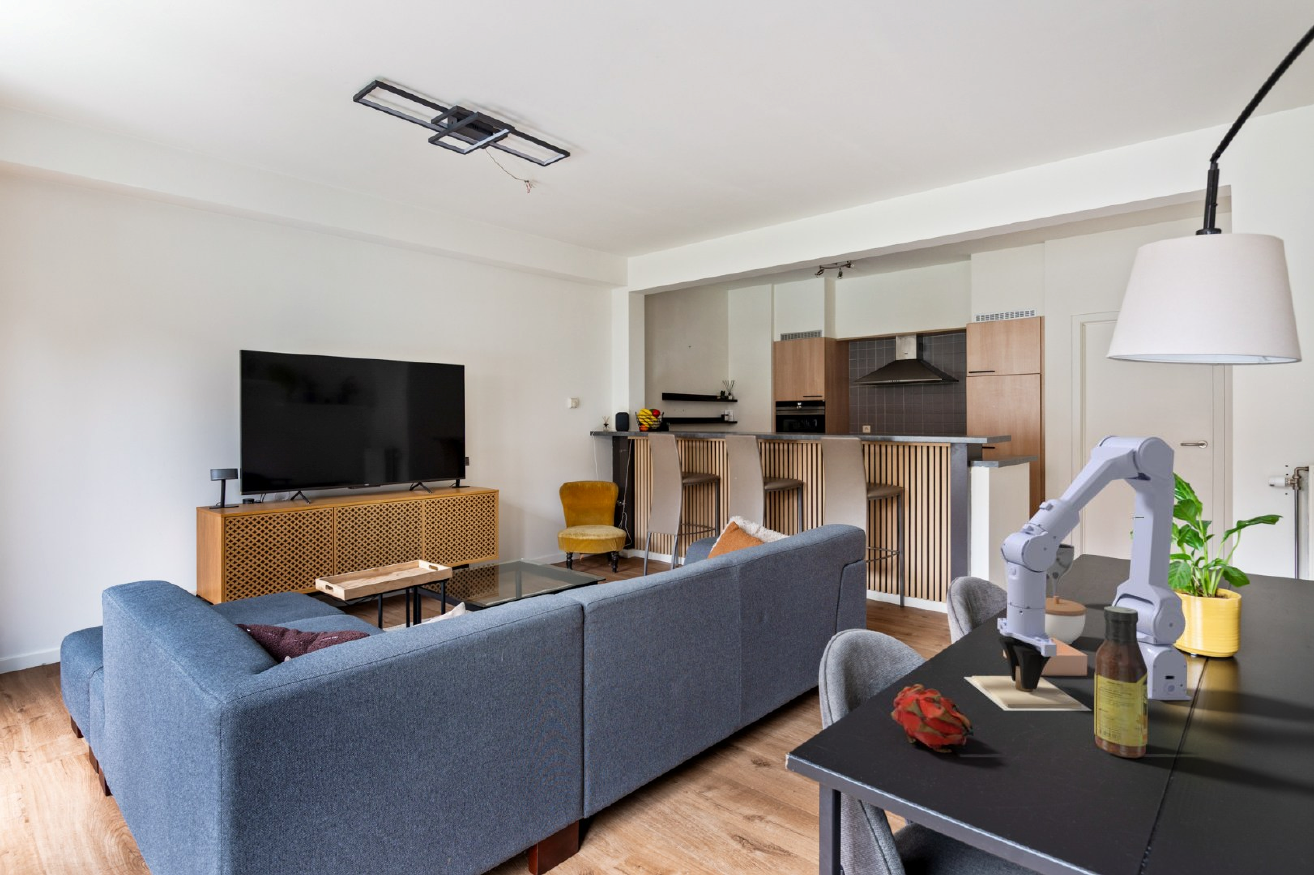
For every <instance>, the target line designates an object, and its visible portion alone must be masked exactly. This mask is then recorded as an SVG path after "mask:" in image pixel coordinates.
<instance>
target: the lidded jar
mask: <svg viewBox="0 0 1314 875" xmlns="http://www.w3.org/2000/svg"><path fill="white" fill-rule="evenodd" d="M1086 614H1087V607H1086V606H1085V605H1083V604H1081V603H1079V602H1076V601H1072V600H1067V599H1062V598H1060V596H1059V595H1057V596H1054V598H1053V597H1046V611H1045V632H1046V634H1047V635H1048V636H1049V638H1056V639H1057V640H1059V641H1061V642H1063V643H1065V644H1067V645H1069V646H1070V645H1072V644H1073V642H1074V641H1076V640H1077V639H1078V638H1080V636H1081V635H1082V633H1083V631H1084V628H1085V625H1086V624H1085V622H1086Z"/></svg>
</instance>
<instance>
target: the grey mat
mask: <svg viewBox="0 0 1314 875" xmlns="http://www.w3.org/2000/svg"><path fill="white" fill-rule="evenodd" d="M963 679H965V680H966V681H967V682H969V683H970V684H971V685H972V686H973V687H975V688H976V689H978V690H979V692H981V693H982V694H984V695H985V696H986V697H987V698H988V699H989V700H991V701H992V702H993V703H995V705H997V706H998V707H999V708H1001V709H1002V710H1003V711H1006V712H1007V711H1009V712H1010V711H1012V712H1013V711H1015V712H1018V711H1021V712H1022V711H1023V712H1024V711H1025V712H1027V711H1028V712H1029V711H1030V712H1033V711H1034V712H1036V711H1037V712H1038V711H1039V712H1040V711H1041V712H1043V711H1044V712H1045V711H1046V712H1051V711H1052V712H1054V711H1055V712H1056V711H1057V712H1059V711H1062V712H1063V711H1064V712H1065V711H1067V712H1068V711H1070V712H1073V711H1075V712H1078V711H1079V712H1082V711H1083V712H1084V711H1085V712H1088V711H1090V712H1091V711H1092V709H1090V708H1089V707H1088V706H1086V705H1084V703H1083V704H1082V703H1081V702H1080V701H1078V700H1077V699H1075V698H1074V697H1072V696H1070V695H1069V696H1070V697H1072V698H1073V699H1075V700H1076V701H1078V702H1079V703H1081V704H1082V708H1007V707H1006V706H1005V705H1004V704H1002V703H1001V702H1000V701H999V700H997V699H996V698H995V697H994V696H992V695H991V694H990V693H989V692H987V691H986V690H985V689H983V688H982V687H981V686H980V685H978V684H977V683H976V682H975V681H973V680H972V676H964V677H963ZM1049 683H1050V684H1052V683H1051V682H1049ZM1052 685H1053V686H1055V685H1054V684H1052ZM1055 687H1056V688H1058V687H1057V686H1055ZM1058 689H1059V688H1058ZM1059 690H1061V689H1059ZM1061 691H1062V690H1061ZM1062 692H1064V691H1062Z"/></svg>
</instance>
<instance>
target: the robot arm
mask: <svg viewBox="0 0 1314 875" xmlns="http://www.w3.org/2000/svg"><path fill="white" fill-rule="evenodd" d="M1174 463H1175V450H1174V449H1173V448H1172V447H1171V446H1170V445H1169V444H1168V443H1167V442H1166V441H1165V440H1164V439H1162V438H1160V437H1157V436H1147V437H1143V436H1142V437H1141V436H1119V435H1107V436H1105V437H1103V438H1102V439H1100V440H1099V442H1098V443H1097V445H1096V446H1095V447H1093V448H1092V449H1091V450H1090V459H1089V461H1088V462H1087V464H1086V465H1085V466H1084V467H1083V468H1082V470H1080V472H1079V473H1078V475H1077V476H1076V477H1075V479H1074V480H1073V482H1072V483H1071V484H1070V485H1069V486H1068V488H1067V489H1066V490H1065V492H1064V493H1063V494H1062V496H1060V498H1055V499H1053V498H1052V499H1048V500H1047V501H1043V502H1042V503H1041V504H1040V505H1039V510H1038V511H1037V512H1036V513H1035V514H1034V515H1033V517H1031V519H1029V521H1027V523H1025V524H1024V525H1023V526H1022V527H1021V530H1020V531H1015V532H1012V533H1010V534H1009V535H1008V536H1007V537H1006V538H1005V540H1004V541H1003V543H1002V544H1003V545H1002V546H1001V547H999V552H1000V554H1001V557H1002V559H1003V560H1004V561H1005V566H1006V567H1005V571H1007V588H1006V589H1007V590H1006V591H1007V592H1006V593H1007V598H1006V603H1007V604H1006V617H998V618H997V627H996V628H997V630H999V633H1000V634H1001V635H1003V636H1000V637H998V642H999V644H1000V645H1001V647H1002V649H1003V650H1004V652H1005V654H1006V657H1007V658H1006V661H1007V664H1008V669H1009V672H1010V676H1011V677H1012V680H1013V681H1014V682H1016V666H1018V665H1019V666H1020V676H1021V684H1022V687H1023V688H1024V689H1036V688H1037V686H1038V683H1039V679H1040V677H1041V676H1042V675H1041V674H1042V671H1043V669H1044V667H1045V665H1046V663H1047V662H1048V660H1049V659H1050V658H1051V657H1056V656H1057V644H1055V643H1053V642H1052V641H1051V639H1050V638H1049V636H1048V635H1047V634H1046V632H1045V611H1046V598H1047V573H1046V570H1047V569H1048V568H1049V567H1050V566H1051V565H1053V564H1054V562H1055V559H1056V552H1057V550H1058V549H1059V544H1060V543H1062V542H1063V541H1064V540H1065V539H1066V538H1067V537H1068V536H1069V535H1070V533H1072V531H1073V530H1074V529H1075V528H1076V527H1077V526H1078V524H1079V523H1080V521H1081V518H1080V516H1081V515H1080V512H1081V510H1082V509H1083V508H1084V507H1085V506H1086V505H1087V504H1088V503H1089V502H1090V501H1092V500H1093V499H1094V498H1095V497H1096V496H1097V495H1098V494H1099V493H1101V491H1102V490H1103V489H1104V488H1105V487H1107V485H1109V484H1110V483H1111V482H1112V481H1115V480H1116V481H1117V480H1124V481H1125V482H1126V483H1127V484H1128V485H1130V487H1131V488H1132V489H1134V491H1135V497H1134V509H1133V510H1134V512H1133V525H1132V526H1133V527H1132V538H1131V539H1132V540H1131V550H1130V551H1131V552H1130V553H1131V554H1130V567H1129V577H1128V578H1129V579H1127V580H1126V581H1124V582H1122V583H1121V584H1119V585H1118V586H1117V588H1116V589H1117V590H1116V594H1115V595H1116V596H1115V598H1114V600H1113V602H1112V603H1111V606H1119V607H1125V608H1130V609H1134V610H1136V611H1137V612H1138V622H1137V642H1138V644H1139V647H1140V650H1141V653H1142V656H1143V658H1144V661H1145V664H1146V667H1147V671H1148V678H1147V681H1148V683H1147V688H1148V689H1147V692H1148V700H1158V701H1192V696H1190V695H1188V694H1187V690H1188V689H1187V688H1188V662H1187V658H1186V657H1185V655H1184V653H1182V652H1180V651H1179V650H1178V649H1177V648H1176V647H1175V645H1174V644H1177V641H1178V640H1179V639H1180V638H1181V637H1182V636H1183V635H1184V632H1185V629H1186V623H1187V622H1186V617H1185V615H1184V611H1183V599H1182V598H1181V597H1180V596H1179V594H1177V592H1175V591H1174V589H1173V588H1172V587H1171V585H1169V576H1170V574H1169V573H1170V564H1171V563H1170V562H1171V560H1170V559H1171V549H1172V548H1171V546H1172V535H1173V534H1172V533H1173V521H1174V520H1173V519H1174V507H1175V506H1174V505H1175V494H1176V478H1175V475H1174ZM1135 517H1144V518H1135Z"/></svg>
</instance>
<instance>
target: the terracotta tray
mask: <svg viewBox="0 0 1314 875" xmlns="http://www.w3.org/2000/svg"><path fill="white" fill-rule="evenodd" d="M1050 639H1051V641H1052V642H1053V643H1055V644H1057V656H1056V657H1051V658H1050V659H1049V660H1048V662H1047V663H1046V665H1045V667H1044V669H1043V671H1042V674H1041V676H1073V677H1074V676H1078V677H1079V676H1085V677H1086V676H1088V655H1087V654H1085V653H1083V652H1082V651H1079V650H1078V649H1076V648H1074V647H1072V646H1070V644H1069V645H1067V644H1065V643H1063V642H1061V641H1059V640H1057V639H1056V638H1050ZM1002 651H1003V657H1004V658H1005V659H1007V657H1006V654H1005V652H1004V649H1003V650H1002Z"/></svg>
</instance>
